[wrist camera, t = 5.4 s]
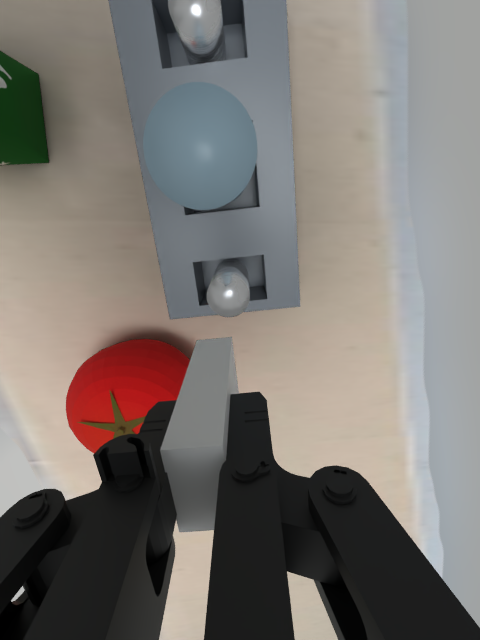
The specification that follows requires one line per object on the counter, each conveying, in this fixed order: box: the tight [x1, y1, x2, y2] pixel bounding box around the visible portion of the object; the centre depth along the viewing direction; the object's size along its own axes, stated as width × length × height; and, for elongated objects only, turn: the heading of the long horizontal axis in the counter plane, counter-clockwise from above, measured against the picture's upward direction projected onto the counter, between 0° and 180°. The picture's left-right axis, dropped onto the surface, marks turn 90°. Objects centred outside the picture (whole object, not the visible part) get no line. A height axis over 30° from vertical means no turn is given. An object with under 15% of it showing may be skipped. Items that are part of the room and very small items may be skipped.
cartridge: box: [143, 82, 257, 210], centre depth 23 cm, size 5×5×16 cm
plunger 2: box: [207, 259, 250, 317], centre depth 27 cm, size 3×3×7 cm
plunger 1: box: [168, 0, 226, 65], centre depth 23 cm, size 3×3×7 cm
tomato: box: [66, 339, 190, 454], centre depth 34 cm, size 14×13×10 cm
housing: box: [108, 0, 300, 319], centre depth 29 cm, size 24×12×6 cm, turn 6°
